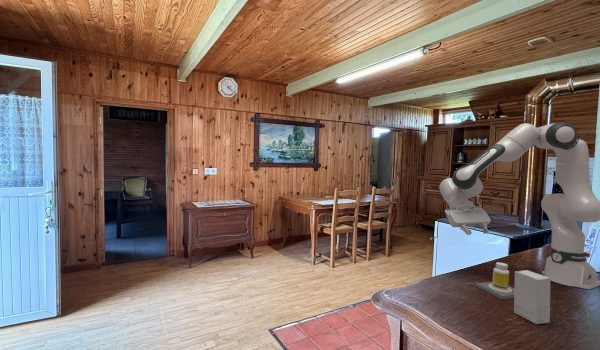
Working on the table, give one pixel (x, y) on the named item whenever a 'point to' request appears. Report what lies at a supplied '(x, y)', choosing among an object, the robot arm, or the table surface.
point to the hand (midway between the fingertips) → (478, 233)
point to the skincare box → (532, 296)
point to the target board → (496, 290)
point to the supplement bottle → (500, 276)
